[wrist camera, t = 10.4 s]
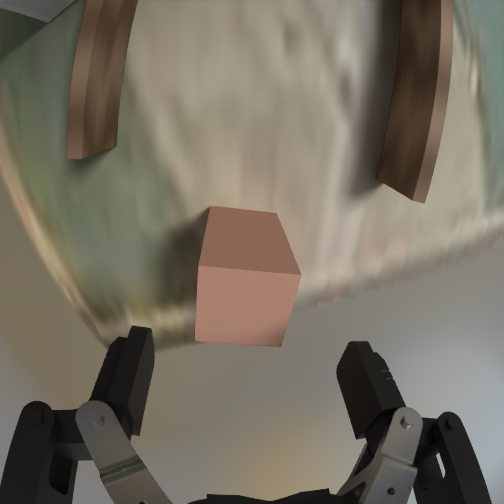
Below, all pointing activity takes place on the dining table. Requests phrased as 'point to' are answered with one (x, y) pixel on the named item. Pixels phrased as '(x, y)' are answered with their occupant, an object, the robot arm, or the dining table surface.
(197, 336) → the terracotta block
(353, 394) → the robot arm
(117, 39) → the u-shaped bracket
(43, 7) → the small box
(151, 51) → the dining table surface
